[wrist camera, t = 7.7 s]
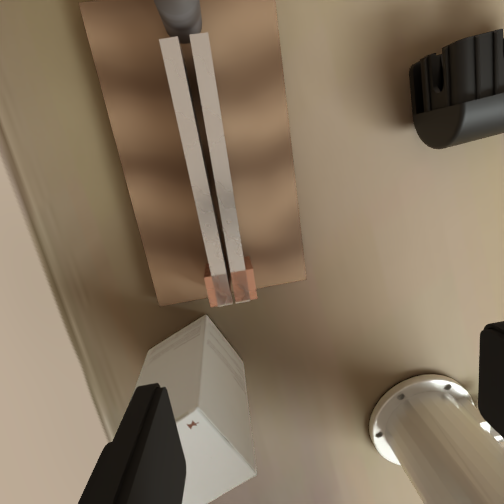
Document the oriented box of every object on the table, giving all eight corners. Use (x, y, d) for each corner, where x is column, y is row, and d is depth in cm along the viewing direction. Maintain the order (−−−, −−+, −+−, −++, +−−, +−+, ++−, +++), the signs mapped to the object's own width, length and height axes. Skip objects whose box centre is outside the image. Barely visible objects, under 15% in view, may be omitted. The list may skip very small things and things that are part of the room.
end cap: (410, 151, 29) (464, 148, 23) (402, 67, 27) (460, 37, 21) (512, 124, 29) (595, 114, 23) (512, 39, 27) (603, 1, 21)
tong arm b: (159, 58, 23) (149, 40, 20) (183, 54, 23) (177, 36, 20) (212, 291, 29) (210, 308, 25) (231, 287, 29) (232, 304, 26)
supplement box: (146, 349, 32) (101, 463, 20) (207, 311, 32) (199, 405, 19) (188, 398, 34) (170, 528, 22) (246, 363, 34) (260, 477, 22)
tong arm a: (193, 52, 23) (189, 34, 20) (217, 49, 23) (217, 31, 20) (233, 286, 29) (235, 303, 26) (253, 283, 29) (257, 299, 26)
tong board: (86, 12, 24) (39, -41, 17) (269, -13, 24) (286, -72, 18) (162, 299, 31) (147, 335, 24) (302, 274, 31) (323, 302, 25)
